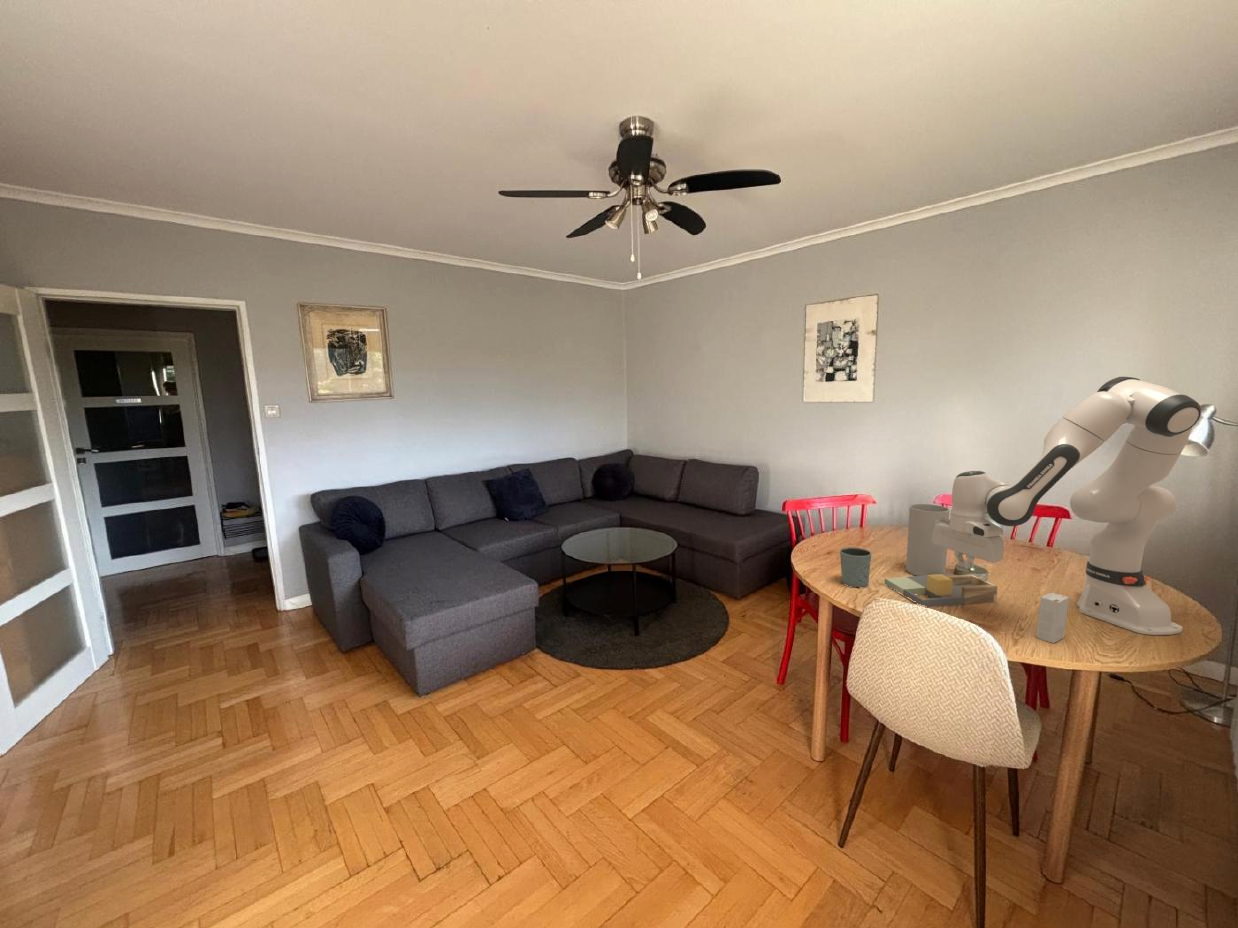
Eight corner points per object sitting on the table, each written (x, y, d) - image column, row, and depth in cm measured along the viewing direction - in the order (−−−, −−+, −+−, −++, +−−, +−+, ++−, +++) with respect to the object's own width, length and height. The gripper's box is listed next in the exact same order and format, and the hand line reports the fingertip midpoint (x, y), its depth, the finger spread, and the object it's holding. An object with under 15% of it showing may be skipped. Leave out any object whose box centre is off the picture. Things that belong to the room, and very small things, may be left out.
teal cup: (873, 589, 172) (875, 556, 170) (842, 588, 174) (843, 555, 172) (865, 578, 181) (866, 547, 180) (836, 577, 183) (837, 546, 182)
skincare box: (1045, 631, 139) (1049, 591, 138) (1065, 638, 135) (1070, 596, 134) (1034, 637, 136) (1038, 596, 135) (1055, 644, 133) (1059, 601, 131)
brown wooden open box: (996, 601, 159) (997, 586, 158) (964, 604, 158) (965, 588, 157) (970, 589, 169) (971, 574, 169) (940, 591, 168) (941, 576, 168)
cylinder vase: (906, 565, 194) (909, 502, 190) (944, 569, 188) (948, 505, 184) (906, 575, 183) (909, 510, 179) (946, 581, 177) (950, 513, 173)
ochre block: (951, 594, 160) (952, 579, 159) (937, 595, 160) (938, 580, 159) (940, 588, 165) (941, 574, 164) (926, 589, 165) (927, 574, 164)
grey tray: (996, 601, 159) (996, 594, 159) (921, 607, 157) (922, 600, 156) (951, 579, 178) (951, 573, 177) (884, 584, 175) (884, 578, 175)
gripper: (928, 516, 160) (925, 557, 162) (993, 533, 140) (989, 579, 142) (943, 514, 162) (940, 555, 164) (1009, 531, 142) (1005, 576, 144)
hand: (963, 567), depth 153 cm, fingers closed
